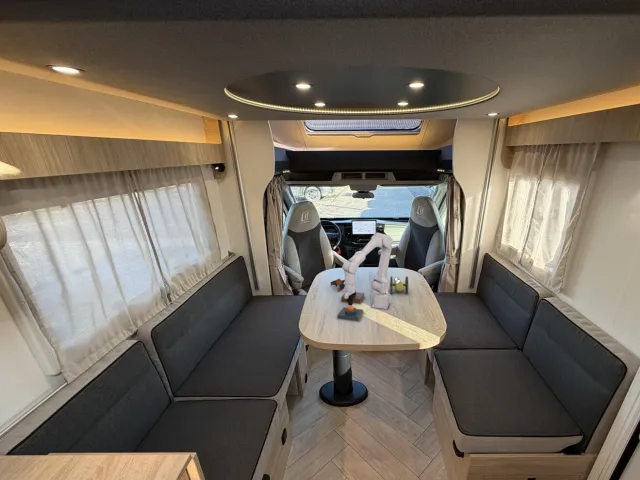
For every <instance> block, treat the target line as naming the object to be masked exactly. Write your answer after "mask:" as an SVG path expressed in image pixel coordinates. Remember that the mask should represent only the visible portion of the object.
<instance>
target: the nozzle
mask: <svg viewBox="0 0 640 480" xmlns="http://www.w3.org/2000/svg"><path fill="white" fill-rule="evenodd" d="M354 307H355V306H353V305H352V306H350V305H348V306H347V307H346V308H347V310H348V311H353V310H354Z"/></svg>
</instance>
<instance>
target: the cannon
mask: <svg viewBox="0 0 640 480" xmlns="http://www.w3.org/2000/svg"><path fill="white" fill-rule="evenodd" d="M404 279H405V280H404V282H402V281H401V280H400V278H399V276H397V277H394V278H393V276H390V280H389V291H390V292H389V294H393V288H395V290H396V291H397V292H402V291H404V293H405V294H406V295H408V293H409V276H407V275H406V276H405V278H404Z"/></svg>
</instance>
